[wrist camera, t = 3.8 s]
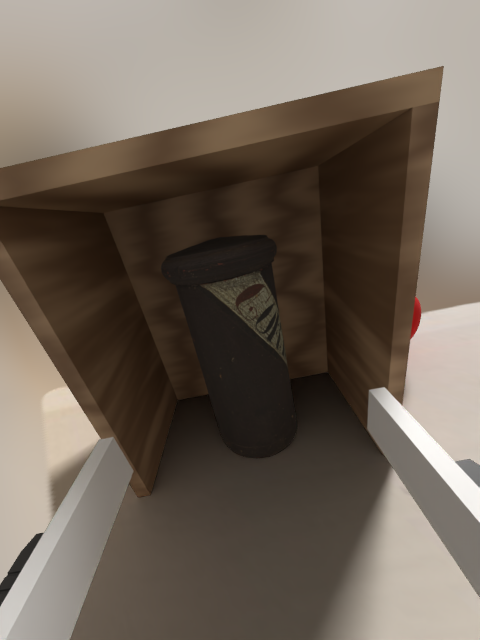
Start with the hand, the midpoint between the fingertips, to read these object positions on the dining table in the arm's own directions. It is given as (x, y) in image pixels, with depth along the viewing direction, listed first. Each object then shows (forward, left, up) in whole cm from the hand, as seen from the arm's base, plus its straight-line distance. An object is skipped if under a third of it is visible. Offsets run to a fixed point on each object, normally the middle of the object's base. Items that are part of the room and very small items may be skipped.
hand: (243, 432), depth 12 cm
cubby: (0, -10, -11) cm, 15 cm away
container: (0, -10, -11) cm, 15 cm away
